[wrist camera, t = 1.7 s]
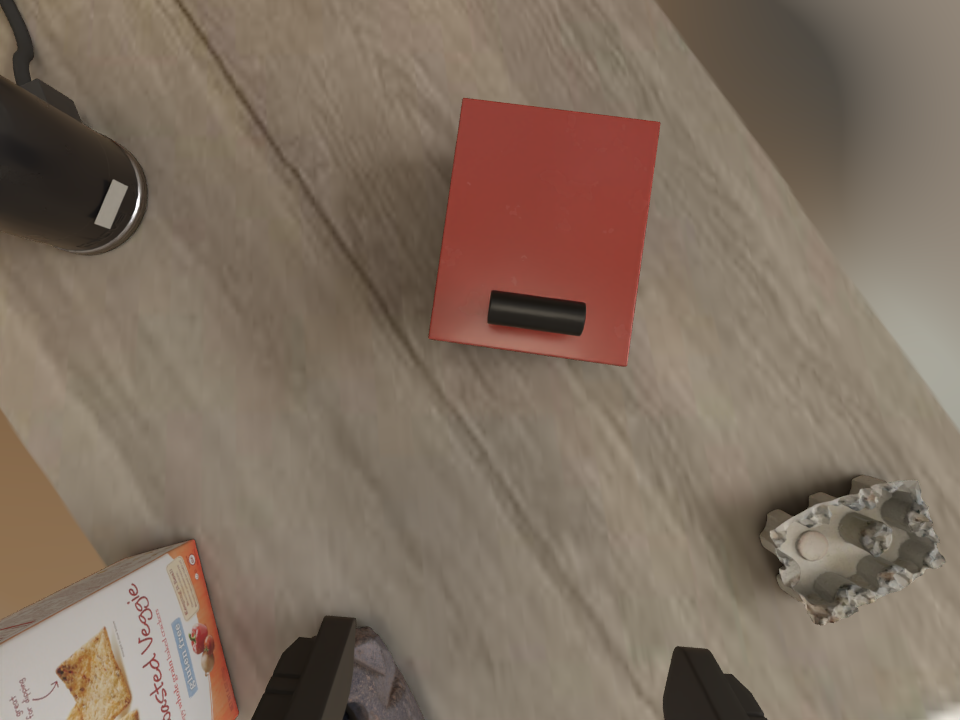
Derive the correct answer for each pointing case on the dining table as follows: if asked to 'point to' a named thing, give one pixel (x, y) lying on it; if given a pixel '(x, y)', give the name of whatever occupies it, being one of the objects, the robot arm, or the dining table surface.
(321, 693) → the robot arm
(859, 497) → the egg carton
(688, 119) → the dining table surface
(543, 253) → the lid
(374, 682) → the perforated stone tool
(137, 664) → the cracker box
